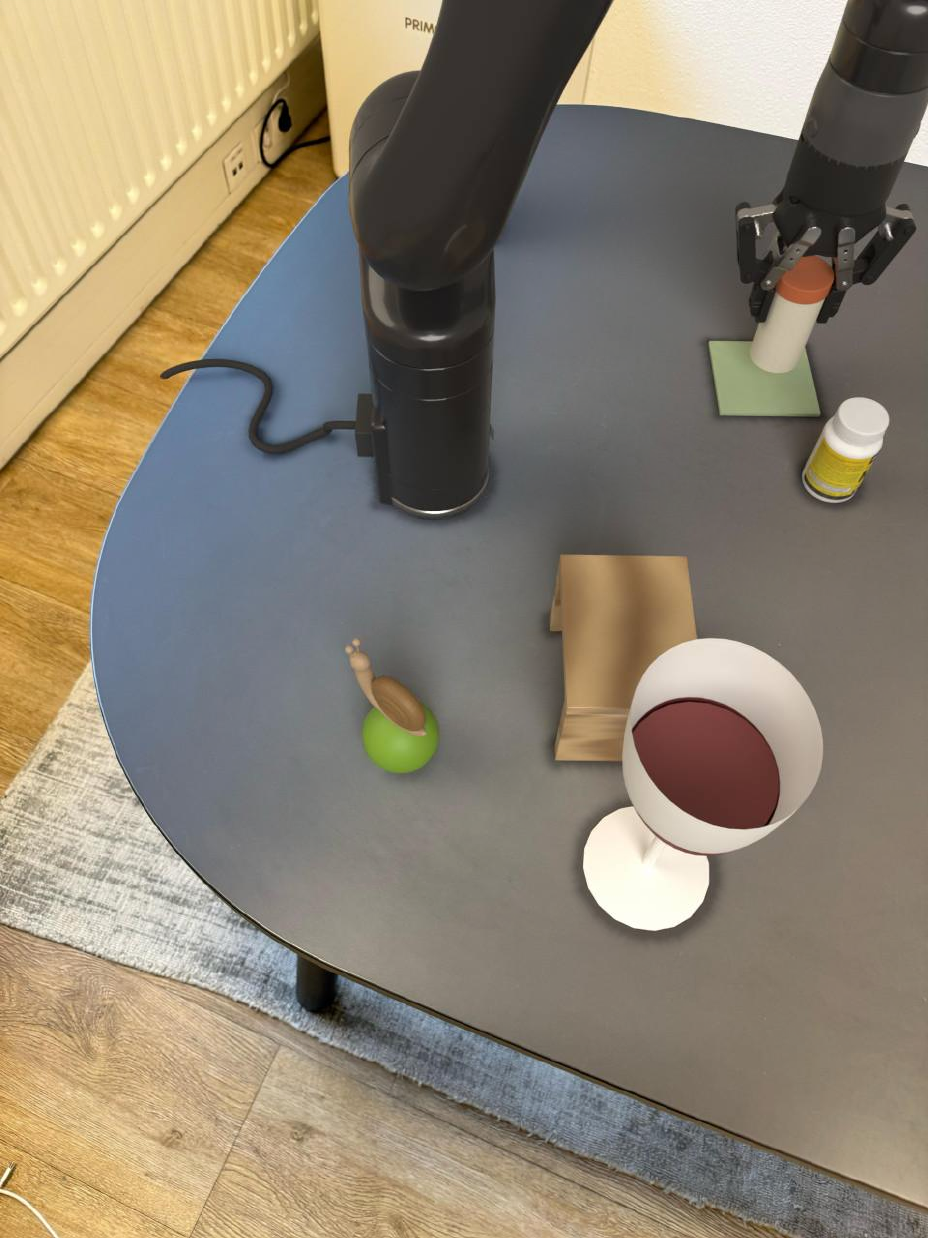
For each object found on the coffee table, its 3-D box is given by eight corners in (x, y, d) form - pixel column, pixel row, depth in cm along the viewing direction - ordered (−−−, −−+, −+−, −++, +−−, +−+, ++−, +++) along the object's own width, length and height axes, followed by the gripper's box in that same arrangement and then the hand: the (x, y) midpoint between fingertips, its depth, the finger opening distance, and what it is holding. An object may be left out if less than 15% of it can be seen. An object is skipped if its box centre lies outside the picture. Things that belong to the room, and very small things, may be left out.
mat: (719, 415, 87) (720, 412, 87) (708, 343, 92) (709, 340, 91) (819, 416, 87) (820, 413, 87) (802, 344, 92) (804, 341, 91)
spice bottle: (751, 373, 86) (781, 290, 78) (745, 336, 88) (773, 252, 80) (804, 374, 86) (839, 291, 78) (795, 337, 88) (829, 253, 80)
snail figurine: (389, 694, 73) (377, 612, 63) (454, 744, 71) (454, 669, 61) (339, 746, 71) (319, 670, 60) (406, 799, 69) (396, 730, 58)
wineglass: (700, 794, 69) (798, 635, 49) (724, 938, 64) (844, 826, 44) (573, 798, 69) (619, 640, 49) (586, 943, 64) (645, 832, 44)
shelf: (554, 760, 70) (567, 707, 63) (549, 618, 76) (560, 553, 69) (678, 762, 70) (706, 709, 63) (663, 620, 76) (687, 555, 69)
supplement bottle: (856, 508, 82) (895, 443, 75) (800, 499, 82) (833, 433, 75) (856, 465, 84) (894, 397, 77) (801, 456, 85) (833, 388, 78)
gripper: (948, 98, 70) (863, 287, 85) (750, 95, 70) (700, 285, 85) (973, 162, 66) (880, 349, 81) (764, 160, 66) (709, 346, 81)
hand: (788, 315), depth 83 cm, fingers closed on spice bottle, 4 cm apart
